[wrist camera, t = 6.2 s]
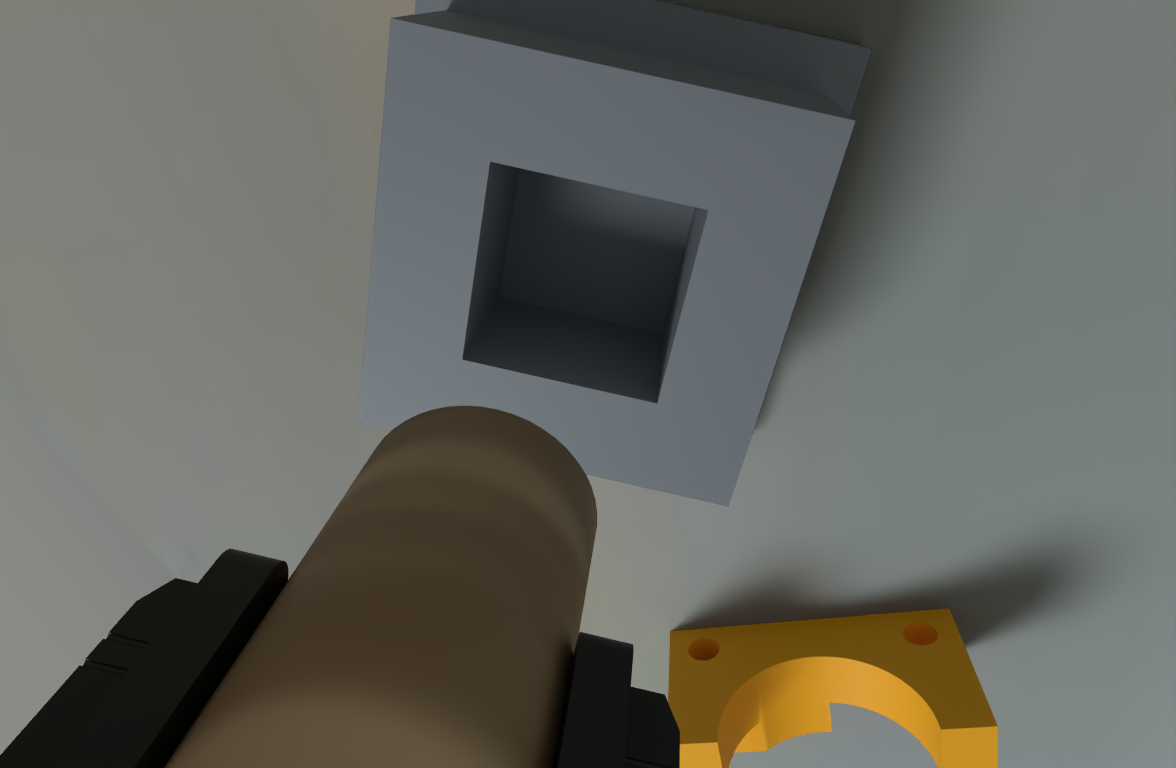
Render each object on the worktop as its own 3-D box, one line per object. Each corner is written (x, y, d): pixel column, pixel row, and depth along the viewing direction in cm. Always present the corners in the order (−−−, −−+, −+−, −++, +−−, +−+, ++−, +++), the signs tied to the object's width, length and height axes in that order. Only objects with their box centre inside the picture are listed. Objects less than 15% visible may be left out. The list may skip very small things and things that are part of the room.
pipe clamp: (684, 698, 40) (684, 821, 34) (670, 628, 38) (667, 744, 32) (950, 680, 38) (997, 808, 32) (947, 605, 36) (997, 726, 30)
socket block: (433, -49, 27) (356, -57, 21) (863, 45, 27) (916, 67, 20) (392, 365, 34) (324, 455, 27) (735, 442, 33) (746, 551, 27)
